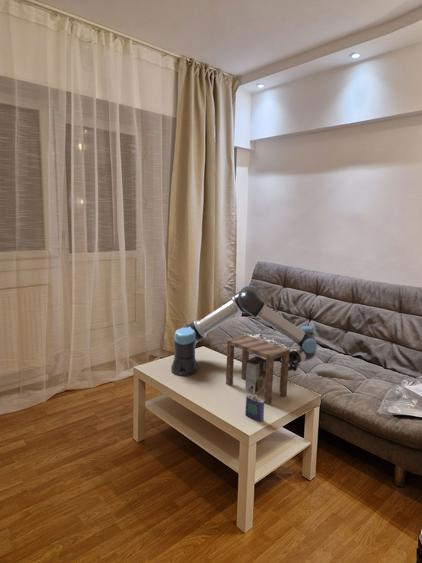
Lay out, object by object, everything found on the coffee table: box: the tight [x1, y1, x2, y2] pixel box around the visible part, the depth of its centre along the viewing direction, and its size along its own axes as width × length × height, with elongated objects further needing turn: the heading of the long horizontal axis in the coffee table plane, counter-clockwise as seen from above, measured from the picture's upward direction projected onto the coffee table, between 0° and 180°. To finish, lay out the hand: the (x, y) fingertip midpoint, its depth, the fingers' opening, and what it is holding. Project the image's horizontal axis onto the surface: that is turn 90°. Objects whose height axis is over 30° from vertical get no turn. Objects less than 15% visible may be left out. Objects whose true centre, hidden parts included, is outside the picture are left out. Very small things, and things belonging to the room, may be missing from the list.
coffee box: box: [244, 355, 266, 395], centre depth 191 cm, size 9×6×16 cm
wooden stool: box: [225, 334, 291, 406], centre depth 191 cm, size 29×14×24 cm, turn 42°
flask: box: [244, 394, 265, 423], centre depth 165 cm, size 9×3×11 cm, turn 47°
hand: (270, 366), depth 196 cm, fingers open, 13 cm apart
